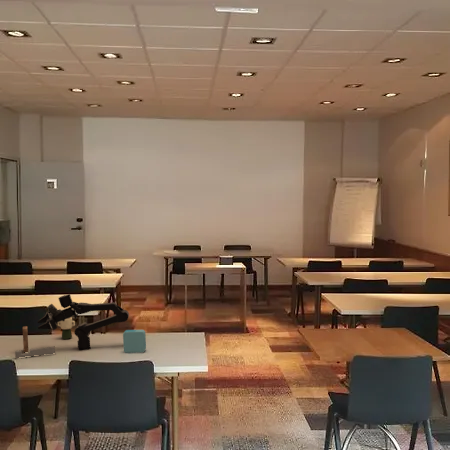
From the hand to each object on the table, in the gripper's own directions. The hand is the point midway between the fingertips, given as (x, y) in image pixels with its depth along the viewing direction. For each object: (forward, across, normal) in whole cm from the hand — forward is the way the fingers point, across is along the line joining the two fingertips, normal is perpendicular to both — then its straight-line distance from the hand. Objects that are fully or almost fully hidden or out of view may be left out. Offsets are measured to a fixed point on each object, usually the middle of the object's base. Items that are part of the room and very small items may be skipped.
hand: (37, 325), depth 308 cm
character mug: (-10, -23, +24) cm, 35 cm away
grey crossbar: (+6, +9, +14) cm, 17 cm away
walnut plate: (+12, -3, +14) cm, 18 cm away
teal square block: (-44, +24, +28) cm, 58 cm away
